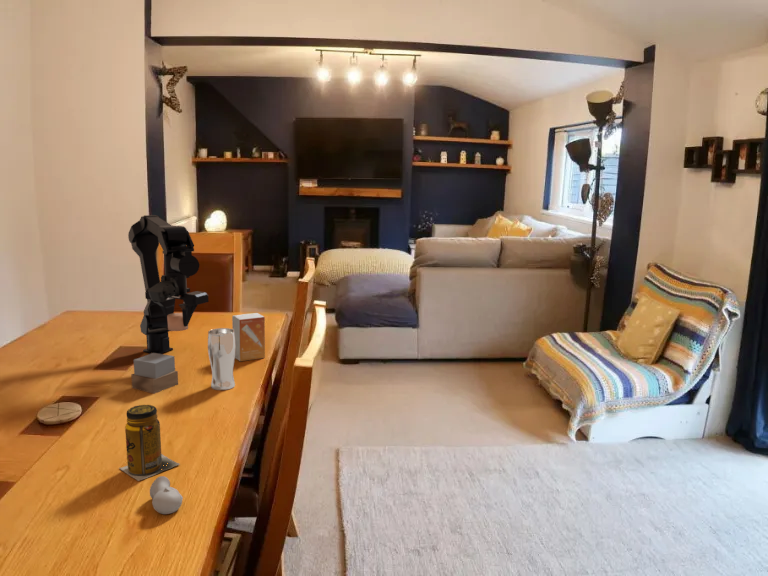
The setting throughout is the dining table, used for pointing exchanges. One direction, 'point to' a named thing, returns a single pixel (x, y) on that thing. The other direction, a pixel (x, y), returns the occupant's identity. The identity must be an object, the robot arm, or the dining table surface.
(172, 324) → the brown rounded cylinder
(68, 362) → the dining table surface
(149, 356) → the grey top block
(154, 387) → the walnut base block
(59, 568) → the dining table surface
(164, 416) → the dining table surface
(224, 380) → the beer glass
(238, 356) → the small box
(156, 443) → the condiment
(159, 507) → the pale two-lobed sculpture
